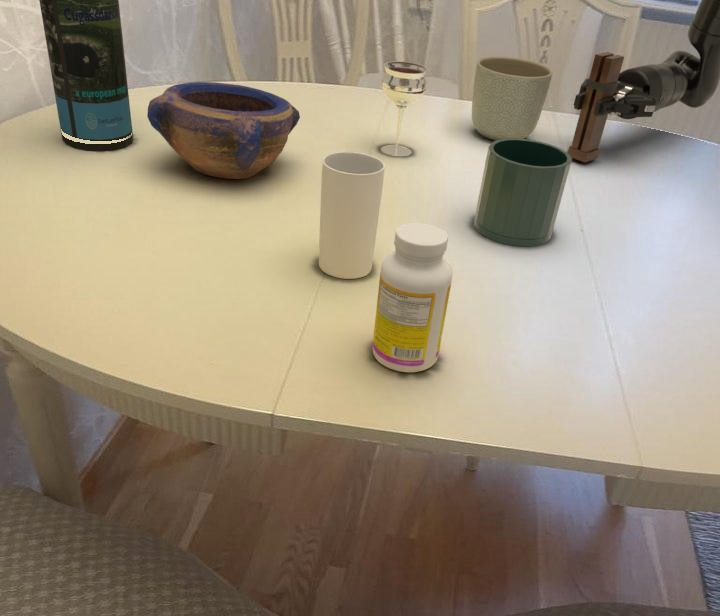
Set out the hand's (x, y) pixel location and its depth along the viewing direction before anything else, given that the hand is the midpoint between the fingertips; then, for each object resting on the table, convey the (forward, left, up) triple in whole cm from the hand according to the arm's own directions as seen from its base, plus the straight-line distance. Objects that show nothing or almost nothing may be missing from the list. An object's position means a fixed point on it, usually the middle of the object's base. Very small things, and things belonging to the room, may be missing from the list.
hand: (587, 105), depth 117 cm
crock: (+15, +28, -9) cm, 33 cm away
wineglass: (+29, +1, -9) cm, 30 cm away
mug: (+37, +41, -9) cm, 56 cm away
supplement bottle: (+32, +61, -9) cm, 69 cm away
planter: (+10, -11, -9) cm, 17 cm away
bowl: (+54, +14, -9) cm, 56 cm away
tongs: (-2, -2, -8) cm, 9 cm away
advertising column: (+74, +7, -9) cm, 75 cm away
